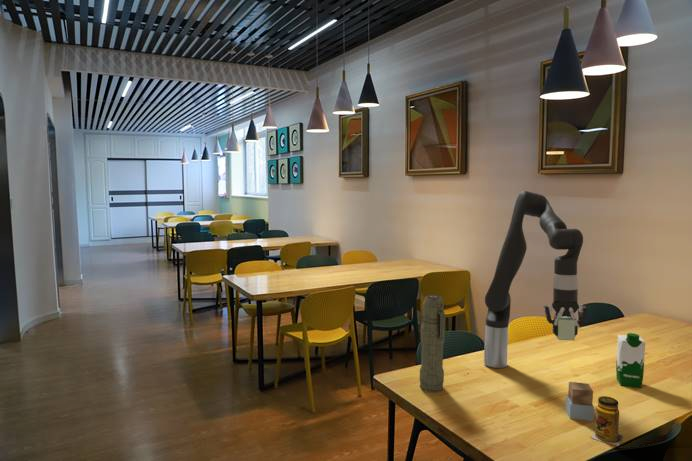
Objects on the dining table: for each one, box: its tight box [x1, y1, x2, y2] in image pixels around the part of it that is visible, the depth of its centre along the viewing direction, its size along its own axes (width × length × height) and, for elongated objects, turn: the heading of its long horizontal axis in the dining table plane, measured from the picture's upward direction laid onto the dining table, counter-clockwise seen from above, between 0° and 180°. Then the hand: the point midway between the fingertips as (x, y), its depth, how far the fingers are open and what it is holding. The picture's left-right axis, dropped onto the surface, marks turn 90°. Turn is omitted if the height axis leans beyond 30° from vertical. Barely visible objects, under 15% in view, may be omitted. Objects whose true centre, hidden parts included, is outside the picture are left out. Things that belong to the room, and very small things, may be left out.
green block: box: [555, 316, 576, 342], centre depth 159 cm, size 5×5×7 cm
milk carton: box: [615, 332, 646, 389], centre depth 179 cm, size 9×9×20 cm
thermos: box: [419, 294, 447, 393], centre depth 173 cm, size 9×12×35 cm
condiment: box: [590, 395, 625, 447], centre depth 139 cm, size 7×8×12 cm
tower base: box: [564, 394, 595, 422], centre depth 153 cm, size 7×7×5 cm
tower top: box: [567, 381, 594, 406], centre depth 153 cm, size 6×6×5 cm
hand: (565, 335), depth 159 cm, fingers closed on green block, 5 cm apart
